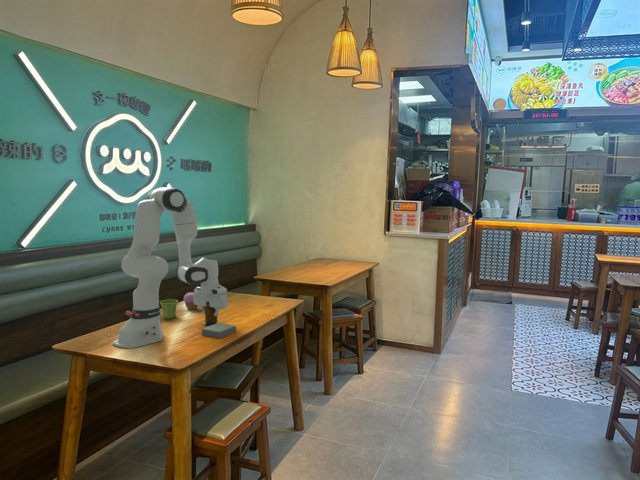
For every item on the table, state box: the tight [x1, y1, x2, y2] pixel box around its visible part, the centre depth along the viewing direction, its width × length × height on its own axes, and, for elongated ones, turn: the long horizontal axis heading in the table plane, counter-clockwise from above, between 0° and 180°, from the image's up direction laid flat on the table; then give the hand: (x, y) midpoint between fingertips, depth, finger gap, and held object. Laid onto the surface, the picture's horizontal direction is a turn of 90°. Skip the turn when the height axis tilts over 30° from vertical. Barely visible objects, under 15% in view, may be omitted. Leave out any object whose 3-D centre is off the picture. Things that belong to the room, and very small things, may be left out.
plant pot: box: [159, 299, 179, 319], centre depth 250 cm, size 9×9×9 cm
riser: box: [201, 322, 237, 339], centre depth 223 cm, size 12×11×3 cm
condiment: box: [201, 302, 219, 327], centre depth 238 cm, size 7×8×12 cm
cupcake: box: [183, 291, 199, 311], centre depth 266 cm, size 9×9×10 cm
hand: (210, 315), depth 238 cm, fingers closed on condiment, 6 cm apart
